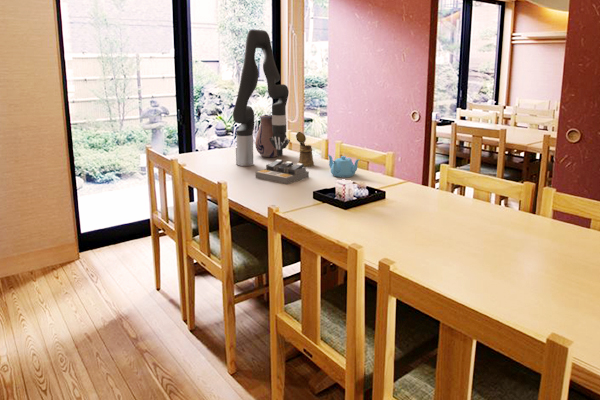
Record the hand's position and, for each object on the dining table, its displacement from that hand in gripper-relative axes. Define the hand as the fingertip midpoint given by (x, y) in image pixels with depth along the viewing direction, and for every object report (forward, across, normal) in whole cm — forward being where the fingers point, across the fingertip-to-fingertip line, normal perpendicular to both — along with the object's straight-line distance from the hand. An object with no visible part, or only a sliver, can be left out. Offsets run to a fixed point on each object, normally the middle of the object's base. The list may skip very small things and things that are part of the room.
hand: (279, 156), depth 274 cm
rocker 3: (+4, +14, -3) cm, 15 cm away
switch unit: (+10, +6, -6) cm, 13 cm away
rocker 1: (+4, 0, -3) cm, 5 cm away
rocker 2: (+4, +7, -3) cm, 8 cm away
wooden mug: (+10, -3, +26) cm, 28 cm away
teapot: (+10, +29, +17) cm, 35 cm away
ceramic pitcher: (+9, -32, +30) cm, 45 cm away
